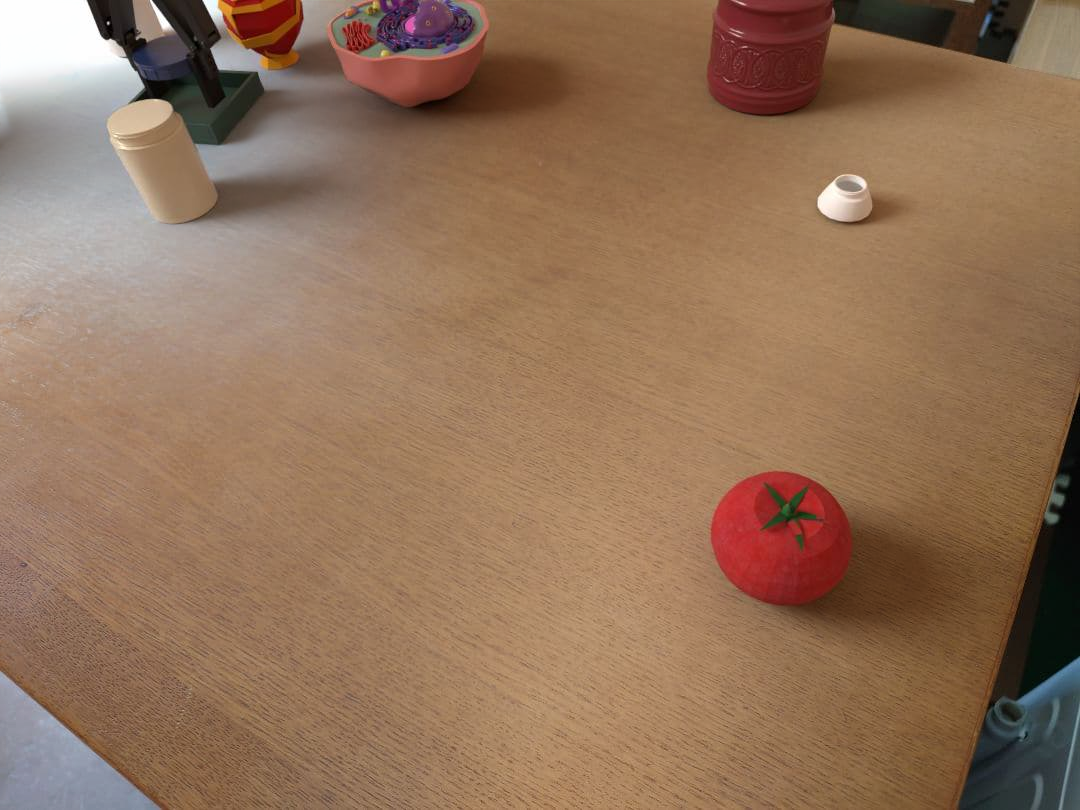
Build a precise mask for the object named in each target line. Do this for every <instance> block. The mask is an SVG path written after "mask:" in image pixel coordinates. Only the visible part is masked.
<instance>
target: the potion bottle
mask: <svg viewBox="0 0 1080 810" xmlns="http://www.w3.org/2000/svg"><path fill="white" fill-rule="evenodd" d="M217 9H218V10H219V11H220V12H221V13H222V19H223V22H224V24H225V29H226V30H227V32H228V33H229V35H230V37H231V38H232V40H233V41H235V42H236V43H237V44H239V45H240V46H241V47H242V48H244V49H245V50H252V51H253V52H255V53H256V54H259V55H261V60H260V64H259V65H260V66H261V67H263V68H264V69H266V70H267V71H273V70H284V69H286V68H288V67H290V66H293V65H294V64H296V63H297V62H298V60H299V58H300V54H299V53H297V51H295V49H293V47H294V45H295V43H296V41H297V39H298V37H299V35H300V33H301V29H302V26H303V23H304V20H305V17H304V7H303V2H302V0H217Z"/></svg>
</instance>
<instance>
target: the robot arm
mask: <svg viewBox="0 0 1080 810" xmlns="http://www.w3.org/2000/svg"><path fill="white" fill-rule="evenodd" d="M151 1H152V3H153V4H154V5H155V7H156V8H157V9H158V11H159V12H160V14H161V15H162V16H163V18H164V19H165V20H166V22H167V23H168V24H169V25H170V27H171V29H173V31H174V32H175V33H176V34H178V36H179V37H180V38H181V40H182V41H183V42H184V44H185V45H186V46H187V48H188V49H189V50H190V52H188V53H187V54H186V57H187V60H188V62H189V64H190V67H191V69H192V71H193V73H194V76H195V78H196V80H197V83H198V85H199V87H200V89H201V92H202V94H203V96H204V99H205V101H206V103H207V106H208V108H215V107H216V106H217V105H218V104H219V103H220V102H221V101H222V100H223V99H224V98H225V97H226V96H225V93H224V91H223V88H222V86H221V83H220V81H219V79H218V76H217V75H218V74H219V70H220V69H219V67H218V64H217V62H216V60H215V57H214V54H213V53H212V50H211V48H213V47H214V46H216V44H217V43H218V42H220V40H221V39H222V35H221V32H220V31H219V29H218V26H217V25H216V23H215V21H214V19H213V17H212V16H211V13H210V12H209V10H208V8H207V6H206V4H205V2H204V0H151ZM87 2H88V5H89V7H90V10H91V12H90V14H91V13H92V14H91V16H92V15H93V16H92V18H93V20H94V22H95V25H96V28H97V31H98V34H99V36H100V37H101V38H102V39H103V40H104V39H105V40H109V39H112V40H114V41H116V43H117V44H118V45H119V46H120V47H122V48H123V50H124V52H125V54H126V56H127V57H126V58H127V60H128V62H129V65H130V66H131V68H132V69H133V71H134V72H137V75H138V77H139V79H140V81H141V83H142V84H143V88H144V87H145V89H146V91H147V93H148V95H149V97H150V99H160V98H161V97H162V96H163V95H164V94H165V93H166V92H168V91H169V88H168V86H167V84H166V82H165V80H164V81H155V80H149V79H146V78H144V77H143V76H141V75H140V74H139V72H138V69H137V67H136V64H135V62H134V60H133V54H134V52H135V51H136V50H137V49H138V48H139V47H141V46H142V45H143V44H145V43H147V41H146V39H145V38H139V39H138V40H136V37H137V36H139V35H140V34H141V31H140V32H139V30H137V28H136V21H135V14H134V7H133V0H87ZM90 10H89V11H90ZM107 22H109V23H110V24H107ZM138 32H139V33H138ZM194 37H196V40H194ZM105 40H104V41H105Z"/></svg>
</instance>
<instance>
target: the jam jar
mask: <svg viewBox="0 0 1080 810" xmlns="http://www.w3.org/2000/svg"><path fill="white" fill-rule="evenodd" d="M127 104H128V103H127ZM127 104H126V105H124V106H122V107H120V108H119V109H117V110H116V111H114V112H113V113H112V114H111V115H110V116H109V118H108V119H107V122H106V127H107V131H108V133H109V140H110V143H111V145H112V147H113V148H114V150H115V152H116V154H117V156H118V158H119V159H120V161H121V163H122V165H123V166H124V168H125V170H126V172H127V173H128V176H129V177H130V179H131V180H132V183H133V184H134V186H135V188H136V189H137V192H138V193H139V195H140V197H141V198H142V200H143V202H144V203H145V205H146V207H147V209H148V211H149V212H150V214H151V216H152V218H153V219H154V220H156V221H157V222H160V223H163V224H168V225H169V224H170V225H173V224H174V225H176V224H183V223H187V222H190V221H193V220H196V219H197V218H200V217H202V216H203V215H205V214H207V213H208V212H210V210H211V209H213V207H214V206H215V205H216V204H217V202H218V198H219V196H218V195H219V194H218V190H217V188H216V187H215V185H214V182H213V181H212V178H211V176H210V174H209V172H208V169H207V167H206V165H205V163H204V161H203V159H202V157H201V155H200V153H199V151H198V149H197V146H196V143H194V142H193V140H192V138H191V136H190V133H189V131H188V129H187V127H186V125H185V123H184V121H183V119H182V117H181V115H179V114H178V113H176V112H175V111H174V109H173V107H172V105H171V104H170V103H169V102H167V101H164V100H159V99H148V100H142V101H137V102H134V103H131V104H128V105H127Z"/></svg>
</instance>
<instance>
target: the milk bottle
mask: <svg viewBox="0 0 1080 810" xmlns="http://www.w3.org/2000/svg"><path fill="white" fill-rule="evenodd" d="M83 1H84V3H85V4H86V6H87V9H88V10H89V12H90V14H91V17H93V15H92V13H91V10H90V7H89V5H88V2H87V0H83ZM133 7H134V14H135V21H136V28H137V30H139V32H140V31H141V34H140V35H139V36H137V37H136V40H138V39H139V38H145V39H146V41H147V42H149V41H151V40H153V39H156V38H159V37H163V36H166V35H165V32H164V28H163V27H162V24H161V22H160V21H159V18H158V16H157V13H156V11H155V9H154V7H153V4H152V2H151V0H133ZM107 24H110V23H109V22H107ZM139 32H138V33H139ZM103 40H104V41H105V43H106V45H107V47H108V49H109V50H110V52H111V53H113V55H116V56H118V57H121V58H122V57H123V58H127V56H126V54H125V52H124V50H123V48H122V47H120V46H119V45H118V44H117V43H116V41H114V40H112V39H109V40H105V39H103Z"/></svg>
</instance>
